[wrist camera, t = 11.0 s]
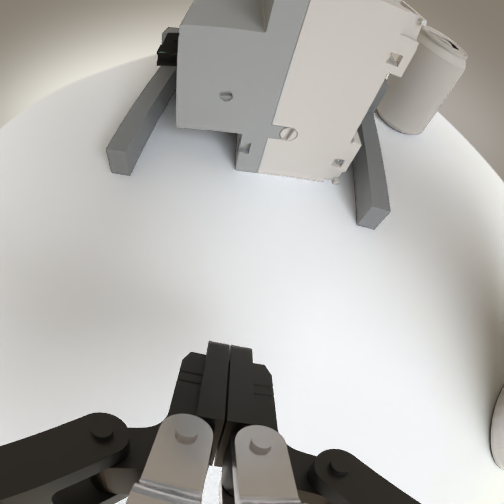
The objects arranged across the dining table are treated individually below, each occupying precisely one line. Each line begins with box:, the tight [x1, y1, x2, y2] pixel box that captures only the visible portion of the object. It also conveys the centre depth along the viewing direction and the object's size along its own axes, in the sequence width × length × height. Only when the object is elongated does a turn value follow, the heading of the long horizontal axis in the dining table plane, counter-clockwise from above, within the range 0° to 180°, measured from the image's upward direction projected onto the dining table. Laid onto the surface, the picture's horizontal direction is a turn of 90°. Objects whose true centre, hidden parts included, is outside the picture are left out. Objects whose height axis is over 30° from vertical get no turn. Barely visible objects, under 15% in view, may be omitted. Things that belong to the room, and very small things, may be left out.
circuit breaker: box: [157, 0, 427, 184], centre depth 18 cm, size 8×14×15 cm, turn 90°
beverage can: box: [377, 25, 468, 135], centre depth 26 cm, size 6×6×12 cm
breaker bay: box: [106, 27, 390, 229], centre depth 22 cm, size 20×13×7 cm, turn 82°
